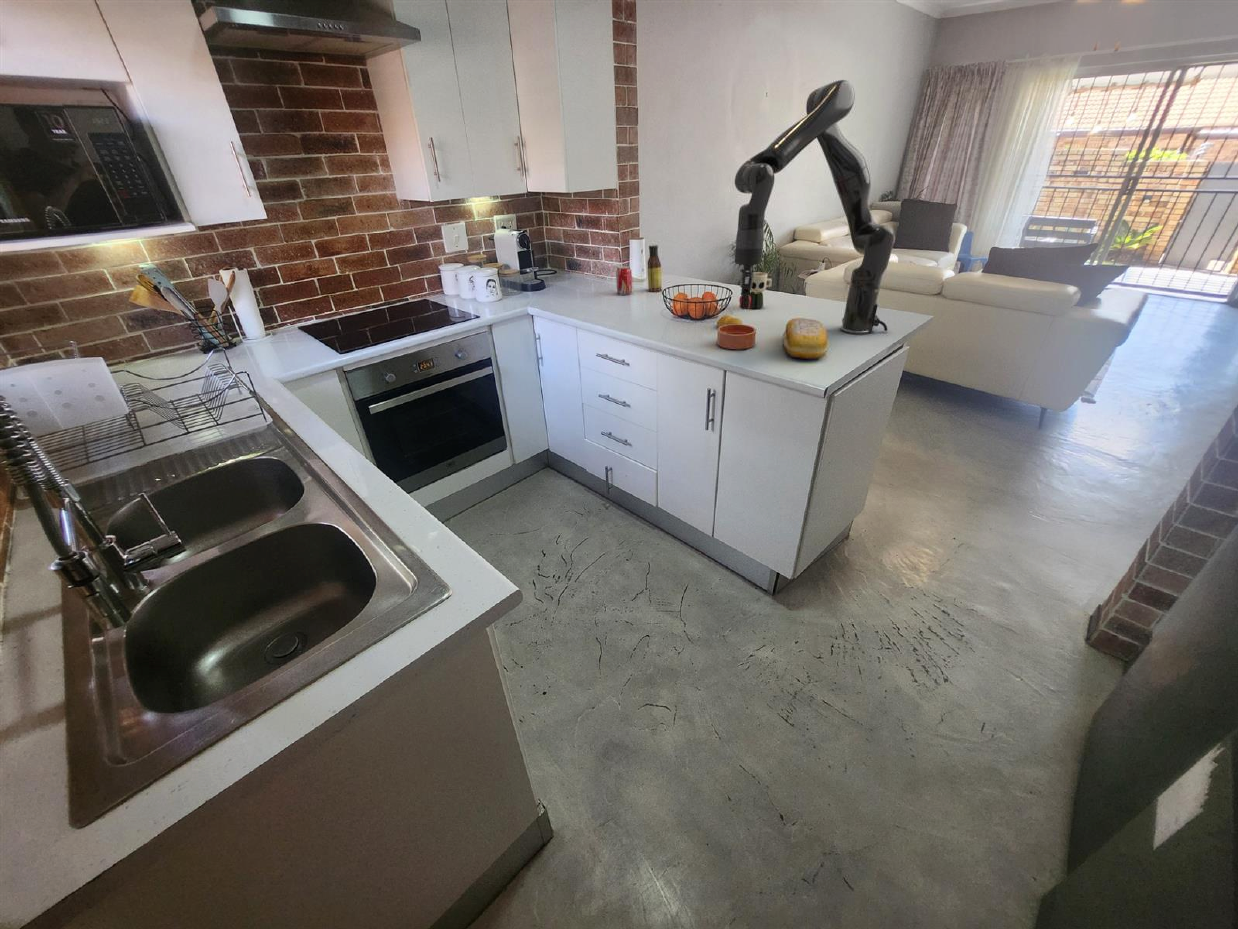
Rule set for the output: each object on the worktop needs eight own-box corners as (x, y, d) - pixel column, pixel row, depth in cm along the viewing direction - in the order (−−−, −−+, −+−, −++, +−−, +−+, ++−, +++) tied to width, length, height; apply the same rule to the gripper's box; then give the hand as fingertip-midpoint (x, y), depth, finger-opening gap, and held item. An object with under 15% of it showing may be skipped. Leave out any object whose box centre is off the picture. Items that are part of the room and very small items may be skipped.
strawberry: (750, 305, 152) (751, 291, 150) (750, 309, 150) (751, 294, 147) (738, 305, 153) (739, 291, 151) (738, 308, 150) (739, 294, 148)
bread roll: (732, 332, 178) (733, 321, 176) (713, 327, 184) (713, 316, 182) (747, 327, 183) (748, 316, 181) (727, 322, 189) (728, 311, 187)
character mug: (741, 309, 203) (744, 276, 196) (741, 305, 209) (743, 272, 202) (769, 309, 201) (773, 275, 194) (768, 305, 207) (771, 272, 200)
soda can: (615, 293, 237) (613, 266, 231) (629, 291, 239) (628, 264, 232) (619, 296, 231) (618, 268, 225) (634, 294, 233) (633, 267, 226)
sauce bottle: (664, 289, 238) (664, 244, 228) (657, 292, 234) (657, 246, 224) (651, 288, 242) (651, 243, 231) (645, 291, 237) (644, 245, 227)
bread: (784, 361, 152) (788, 335, 148) (778, 334, 174) (781, 311, 170) (831, 363, 149) (836, 336, 145) (819, 335, 171) (823, 311, 167)
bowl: (754, 339, 171) (756, 324, 168) (754, 351, 161) (755, 335, 158) (718, 338, 174) (719, 323, 171) (715, 349, 164) (716, 334, 161)
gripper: (763, 249, 136) (757, 313, 145) (762, 241, 147) (757, 301, 156) (735, 249, 137) (731, 313, 146) (736, 241, 149) (732, 301, 158)
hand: (744, 306), depth 151 cm, fingers closed on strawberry, 3 cm apart
